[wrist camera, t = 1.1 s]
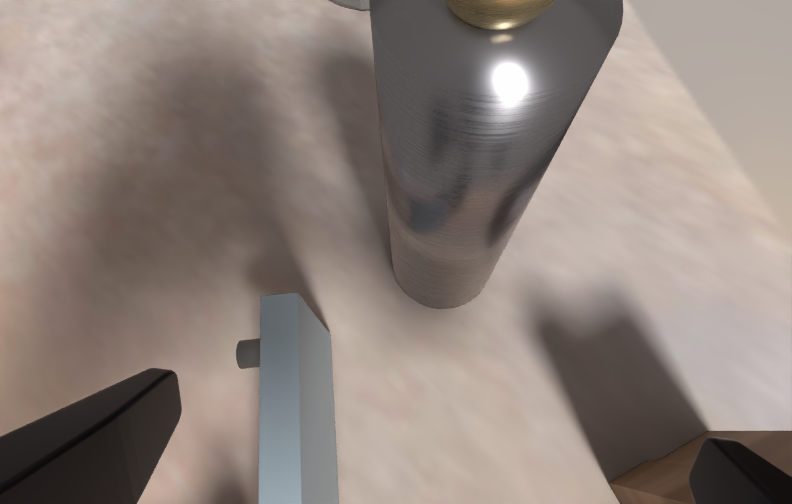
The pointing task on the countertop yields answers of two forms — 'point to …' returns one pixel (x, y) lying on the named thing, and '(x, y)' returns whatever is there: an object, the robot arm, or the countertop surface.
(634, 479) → the fence
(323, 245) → the countertop surface
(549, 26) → the grey tall cylinder
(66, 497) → the robot arm
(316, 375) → the gate
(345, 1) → the coffeepot
